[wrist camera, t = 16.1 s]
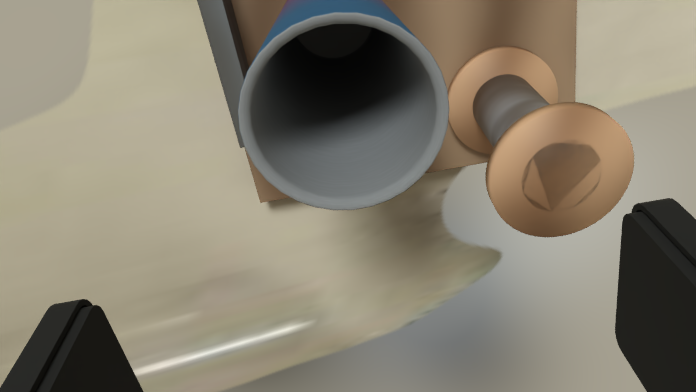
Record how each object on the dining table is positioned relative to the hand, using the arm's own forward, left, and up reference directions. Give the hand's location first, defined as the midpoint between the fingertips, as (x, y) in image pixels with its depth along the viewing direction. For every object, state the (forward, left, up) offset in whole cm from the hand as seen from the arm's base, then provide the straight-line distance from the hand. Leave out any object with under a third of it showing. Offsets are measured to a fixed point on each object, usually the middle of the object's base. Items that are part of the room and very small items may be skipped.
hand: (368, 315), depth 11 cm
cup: (0, 0, -25) cm, 25 cm away
